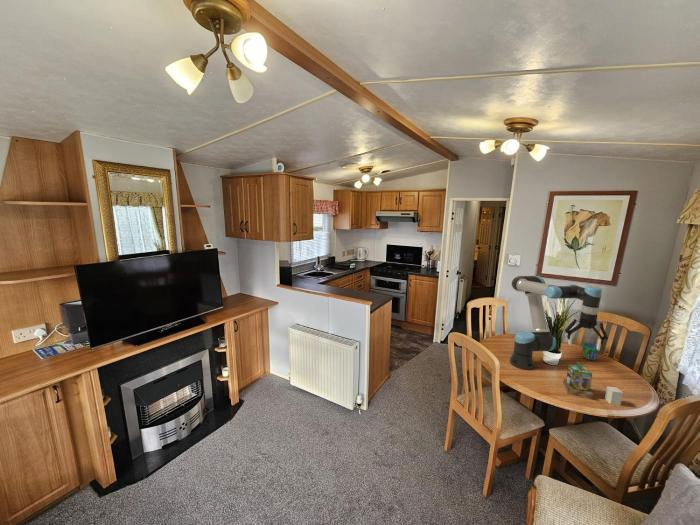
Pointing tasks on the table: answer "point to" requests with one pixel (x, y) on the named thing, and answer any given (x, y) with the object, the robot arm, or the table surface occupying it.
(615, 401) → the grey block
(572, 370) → the chalk box
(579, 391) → the walnut block
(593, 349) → the snack cup
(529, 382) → the table surface
